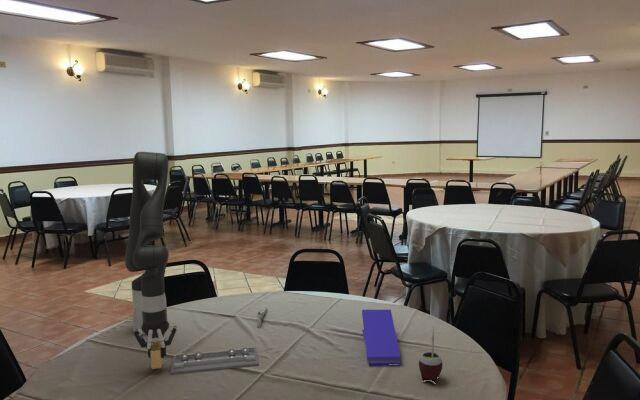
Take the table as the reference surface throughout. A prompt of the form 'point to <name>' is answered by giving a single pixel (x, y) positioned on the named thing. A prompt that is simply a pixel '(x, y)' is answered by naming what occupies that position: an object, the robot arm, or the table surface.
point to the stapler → (380, 337)
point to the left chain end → (197, 361)
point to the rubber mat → (214, 366)
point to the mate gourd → (430, 364)
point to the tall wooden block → (156, 355)
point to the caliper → (261, 316)
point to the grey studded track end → (233, 357)
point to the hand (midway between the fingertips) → (157, 357)
